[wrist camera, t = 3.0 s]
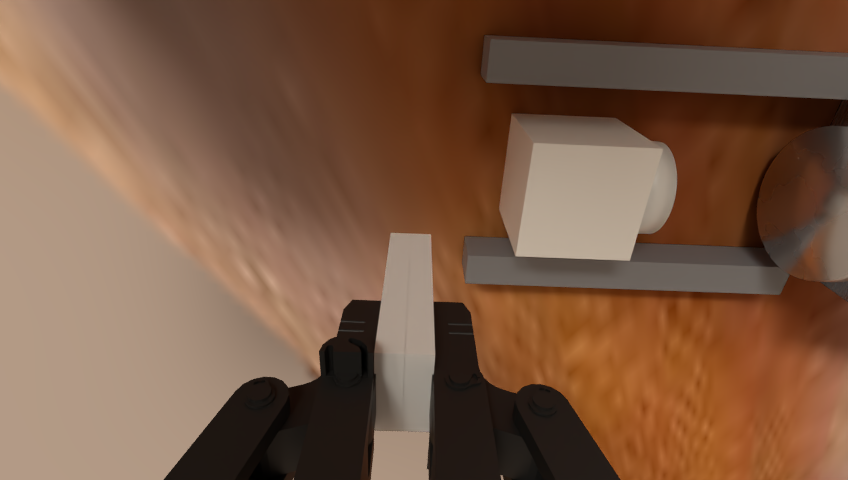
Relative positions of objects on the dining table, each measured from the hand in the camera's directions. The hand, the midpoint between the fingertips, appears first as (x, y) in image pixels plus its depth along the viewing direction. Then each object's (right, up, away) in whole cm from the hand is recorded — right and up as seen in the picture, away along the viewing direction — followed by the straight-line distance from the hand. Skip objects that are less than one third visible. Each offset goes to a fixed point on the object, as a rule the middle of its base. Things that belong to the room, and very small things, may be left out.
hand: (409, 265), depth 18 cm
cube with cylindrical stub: (+8, +6, +10) cm, 14 cm away
